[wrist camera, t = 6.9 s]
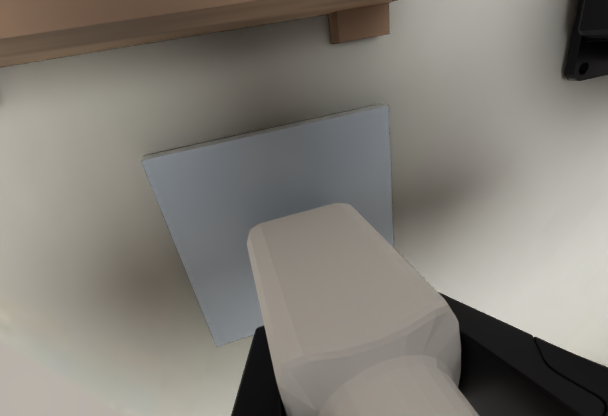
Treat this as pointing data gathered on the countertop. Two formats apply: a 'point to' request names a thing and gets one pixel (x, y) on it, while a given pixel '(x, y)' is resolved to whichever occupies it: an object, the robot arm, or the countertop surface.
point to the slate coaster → (265, 199)
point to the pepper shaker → (352, 320)
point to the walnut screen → (162, 22)
